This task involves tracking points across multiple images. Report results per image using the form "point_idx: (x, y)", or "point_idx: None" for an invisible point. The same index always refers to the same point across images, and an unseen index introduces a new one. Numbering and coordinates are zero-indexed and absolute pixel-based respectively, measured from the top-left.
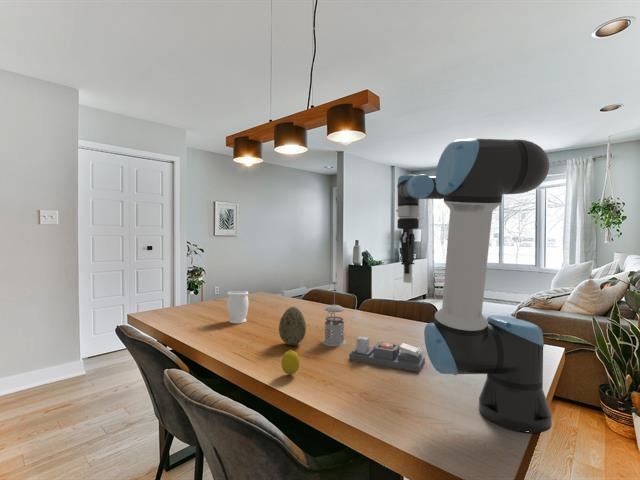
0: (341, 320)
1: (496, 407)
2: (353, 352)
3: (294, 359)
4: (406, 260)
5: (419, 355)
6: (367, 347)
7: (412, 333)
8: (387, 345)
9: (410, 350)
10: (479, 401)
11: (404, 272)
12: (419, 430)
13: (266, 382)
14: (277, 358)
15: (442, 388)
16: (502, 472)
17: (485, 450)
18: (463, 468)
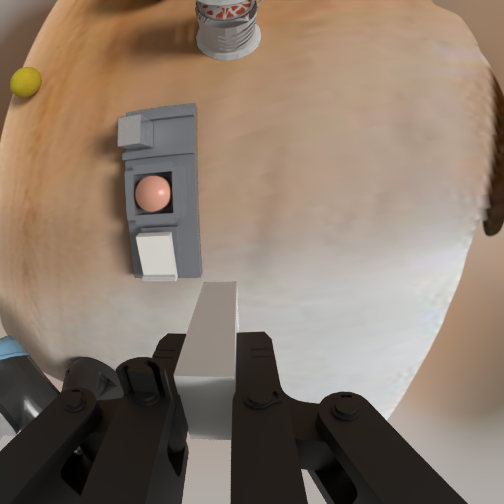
0: (219, 20)
1: (66, 377)
2: None
3: (14, 93)
4: (79, 446)
5: None
6: (136, 147)
7: (404, 200)
8: (148, 197)
9: (141, 262)
10: (79, 362)
11: (193, 329)
12: (17, 299)
13: None
14: (90, 19)
15: (105, 317)
16: None
17: (33, 351)
18: (9, 333)
